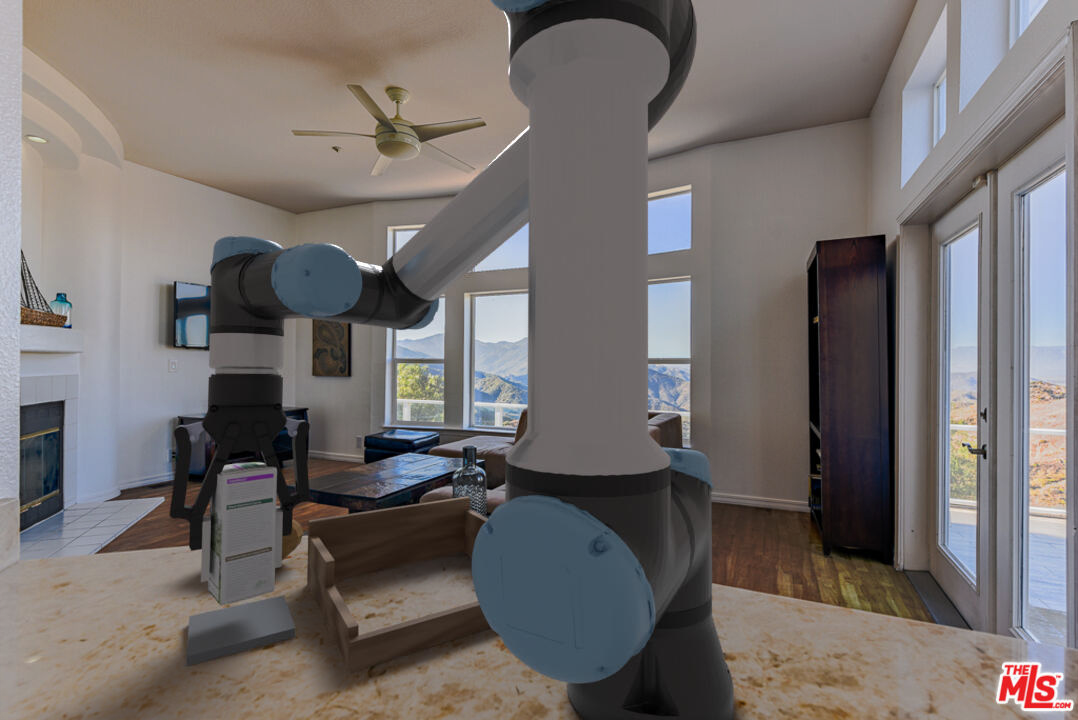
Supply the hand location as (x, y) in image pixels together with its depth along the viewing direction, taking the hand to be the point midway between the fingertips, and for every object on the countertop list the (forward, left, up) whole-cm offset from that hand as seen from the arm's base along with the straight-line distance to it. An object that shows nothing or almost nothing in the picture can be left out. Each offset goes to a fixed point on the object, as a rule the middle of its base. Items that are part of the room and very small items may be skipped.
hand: (242, 569), depth 57 cm
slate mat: (0, 0, -7) cm, 7 cm away
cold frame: (-3, -21, -7) cm, 22 cm away
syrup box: (0, 0, -3) cm, 3 cm away
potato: (+21, -3, -7) cm, 22 cm away
